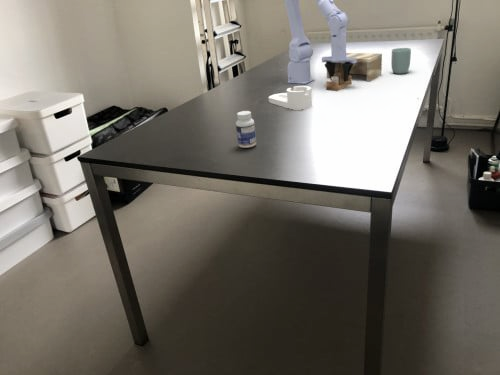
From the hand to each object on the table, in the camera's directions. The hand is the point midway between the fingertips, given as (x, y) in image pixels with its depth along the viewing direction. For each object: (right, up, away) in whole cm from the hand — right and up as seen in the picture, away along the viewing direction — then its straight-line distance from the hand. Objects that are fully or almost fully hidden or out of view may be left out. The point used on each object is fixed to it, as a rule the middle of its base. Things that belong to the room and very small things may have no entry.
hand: (339, 80), depth 180 cm
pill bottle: (-37, -31, -50) cm, 69 cm away
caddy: (0, -2, +1) cm, 3 cm away
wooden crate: (+9, +5, +14) cm, 17 cm away
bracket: (-21, -13, -14) cm, 28 cm away
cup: (+29, +6, +13) cm, 32 cm away
